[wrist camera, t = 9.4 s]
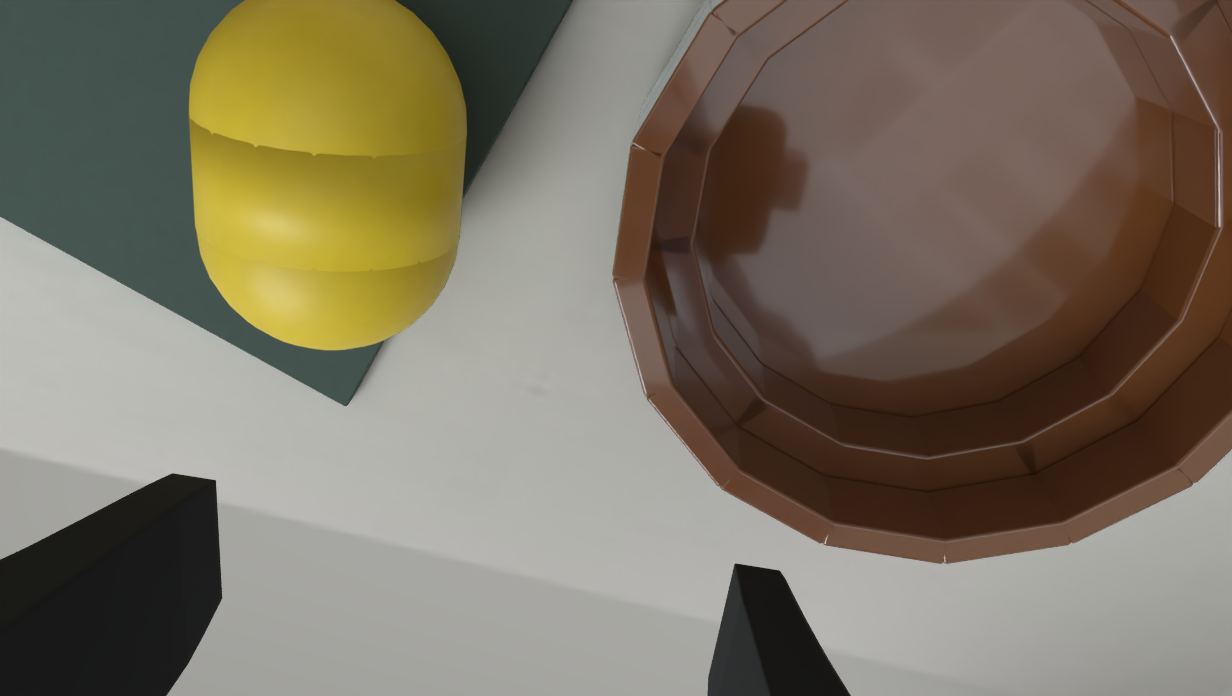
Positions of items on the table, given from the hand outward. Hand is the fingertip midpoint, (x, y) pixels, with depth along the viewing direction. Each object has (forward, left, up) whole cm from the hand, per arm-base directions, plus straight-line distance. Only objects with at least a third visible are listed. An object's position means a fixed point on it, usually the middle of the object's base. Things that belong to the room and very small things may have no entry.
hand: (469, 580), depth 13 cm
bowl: (+4, -7, -9) cm, 12 cm away
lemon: (+3, +5, -9) cm, 11 cm away
